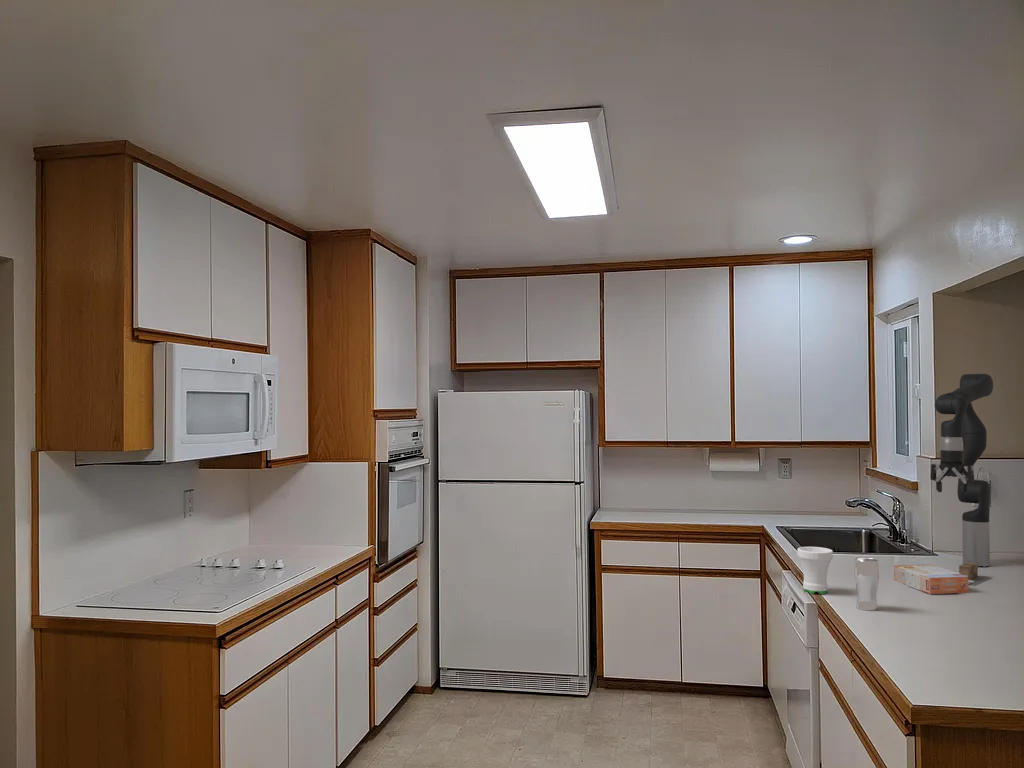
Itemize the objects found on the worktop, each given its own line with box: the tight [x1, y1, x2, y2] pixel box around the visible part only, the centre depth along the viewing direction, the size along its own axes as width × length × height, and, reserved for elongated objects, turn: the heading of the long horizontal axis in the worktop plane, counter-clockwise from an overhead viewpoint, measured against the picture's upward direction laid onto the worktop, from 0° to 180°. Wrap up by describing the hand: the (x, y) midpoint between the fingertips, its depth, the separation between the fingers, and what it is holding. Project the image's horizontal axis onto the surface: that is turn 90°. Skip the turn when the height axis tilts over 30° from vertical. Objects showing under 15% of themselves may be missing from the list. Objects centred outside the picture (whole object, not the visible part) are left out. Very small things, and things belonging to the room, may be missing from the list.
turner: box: [958, 562, 979, 586], centre depth 288 cm, size 17×7×5 cm, turn 134°
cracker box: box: [893, 563, 970, 595], centre depth 278 cm, size 14×6×21 cm
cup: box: [797, 546, 834, 595], centre depth 271 cm, size 11×11×14 cm
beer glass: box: [854, 557, 880, 612], centre depth 250 cm, size 7×7×15 cm
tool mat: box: [969, 575, 992, 587], centre depth 289 cm, size 19×11×1 cm, turn 134°
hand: (952, 492), depth 300 cm, fingers open, 8 cm apart
